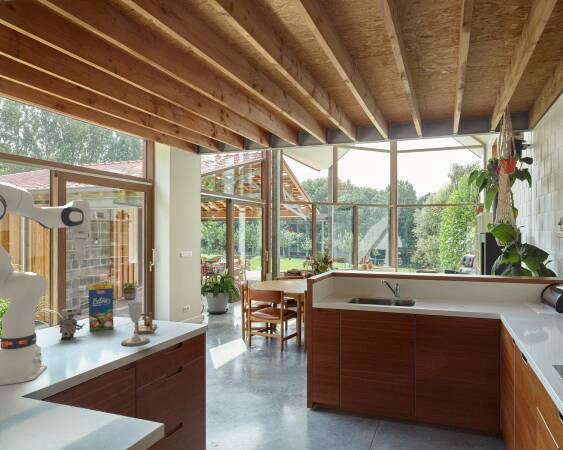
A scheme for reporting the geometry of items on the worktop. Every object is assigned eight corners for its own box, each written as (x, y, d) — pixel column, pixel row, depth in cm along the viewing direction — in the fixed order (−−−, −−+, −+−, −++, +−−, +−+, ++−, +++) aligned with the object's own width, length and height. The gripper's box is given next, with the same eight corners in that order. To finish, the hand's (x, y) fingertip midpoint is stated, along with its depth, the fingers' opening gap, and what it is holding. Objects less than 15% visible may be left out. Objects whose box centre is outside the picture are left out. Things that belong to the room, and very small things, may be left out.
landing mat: (151, 344, 205) (150, 342, 205) (121, 347, 200) (121, 345, 200) (148, 337, 217) (148, 336, 217) (120, 341, 212) (120, 339, 212)
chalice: (138, 342, 204) (137, 304, 204) (125, 342, 206) (124, 304, 206) (146, 338, 211) (145, 302, 212) (133, 338, 213) (133, 301, 213)
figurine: (82, 338, 219) (82, 309, 219) (57, 340, 216) (57, 310, 216) (85, 334, 228) (85, 306, 228) (61, 336, 225) (61, 307, 225)
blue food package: (89, 329, 239) (88, 284, 239) (112, 326, 245) (111, 282, 245) (89, 331, 234) (88, 285, 234) (113, 328, 239) (112, 283, 239)
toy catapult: (140, 327, 241) (139, 309, 241) (156, 326, 242) (156, 308, 242) (134, 334, 225) (133, 315, 225) (151, 333, 226) (151, 314, 226)
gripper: (74, 234, 209) (75, 263, 209) (72, 234, 190) (72, 266, 190) (88, 234, 211) (89, 262, 211) (87, 234, 193) (88, 265, 192)
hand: (81, 264), depth 200 cm, fingers open, 8 cm apart
